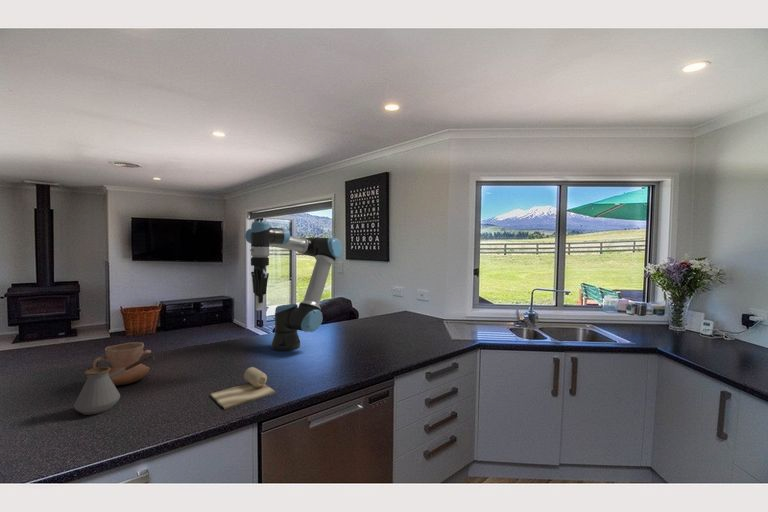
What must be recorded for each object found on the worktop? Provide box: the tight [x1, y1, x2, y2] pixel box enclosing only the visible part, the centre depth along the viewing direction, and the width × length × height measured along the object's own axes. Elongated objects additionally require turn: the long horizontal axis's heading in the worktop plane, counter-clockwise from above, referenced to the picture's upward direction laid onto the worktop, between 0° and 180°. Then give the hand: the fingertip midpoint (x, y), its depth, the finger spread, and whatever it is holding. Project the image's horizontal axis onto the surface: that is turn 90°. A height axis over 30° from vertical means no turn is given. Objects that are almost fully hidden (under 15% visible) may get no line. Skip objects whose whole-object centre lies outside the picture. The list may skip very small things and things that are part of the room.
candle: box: [243, 366, 268, 388], centre depth 127 cm, size 6×6×10 cm
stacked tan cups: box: [92, 341, 152, 387], centre depth 129 cm, size 18×14×14 cm
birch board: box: [210, 382, 276, 410], centre depth 120 cm, size 14×18×1 cm
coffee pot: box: [73, 354, 156, 416], centre depth 111 cm, size 21×12×15 cm, turn 131°
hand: (259, 309), depth 145 cm, fingers closed
